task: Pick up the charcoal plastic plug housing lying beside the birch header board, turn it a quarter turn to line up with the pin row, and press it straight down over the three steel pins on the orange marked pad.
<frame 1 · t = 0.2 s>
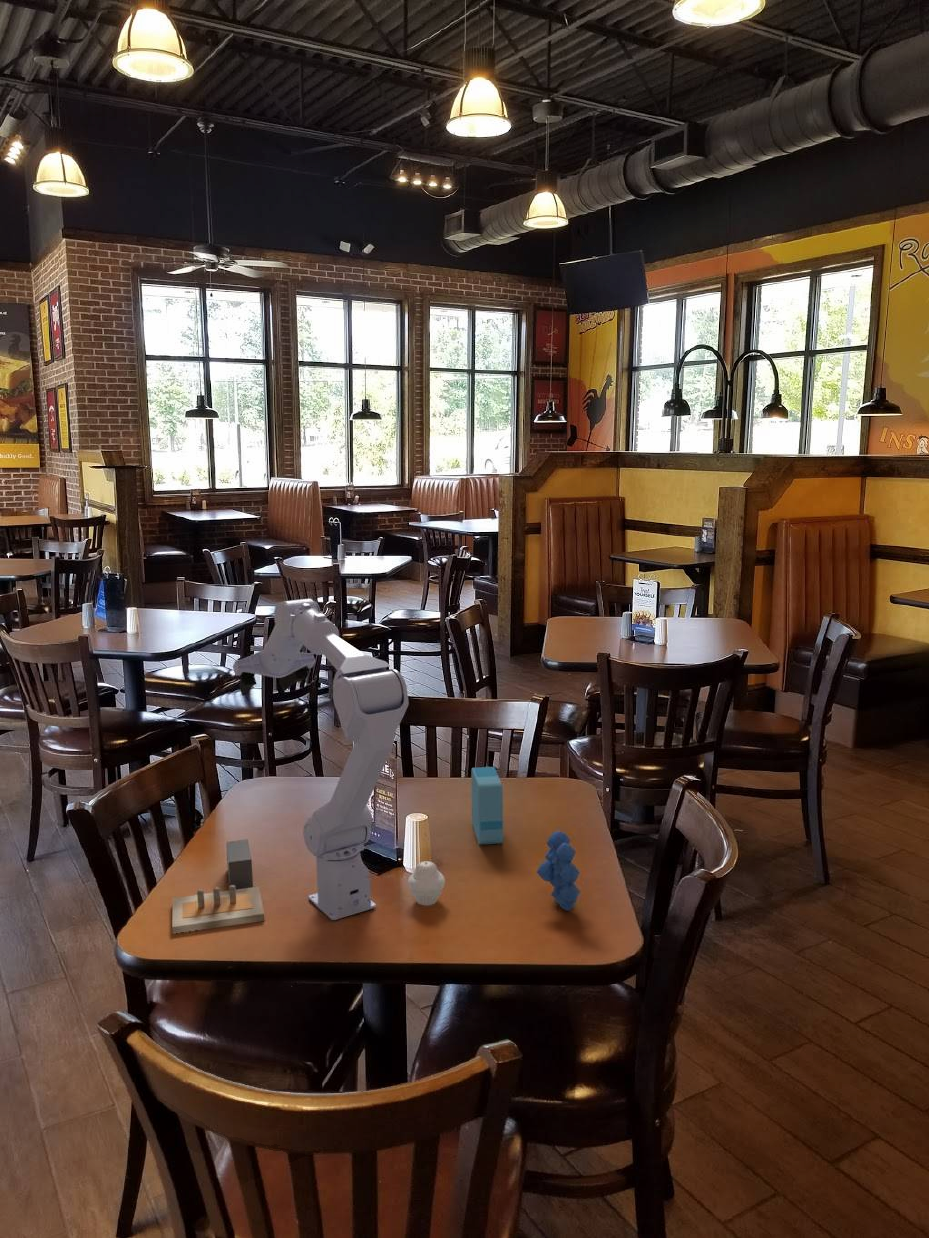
hand: (262, 688, 174), 31 cm above the table, tool tilted 45°, fingers open, 7 cm apart
plug housing: (240, 878, 167), on the table
grapes: (556, 904, 156), on the table
header board: (217, 912, 154), on the table
muffin: (426, 902, 157), on the table
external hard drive: (345, 826, 191), on the table
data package: (486, 835, 184), on the table
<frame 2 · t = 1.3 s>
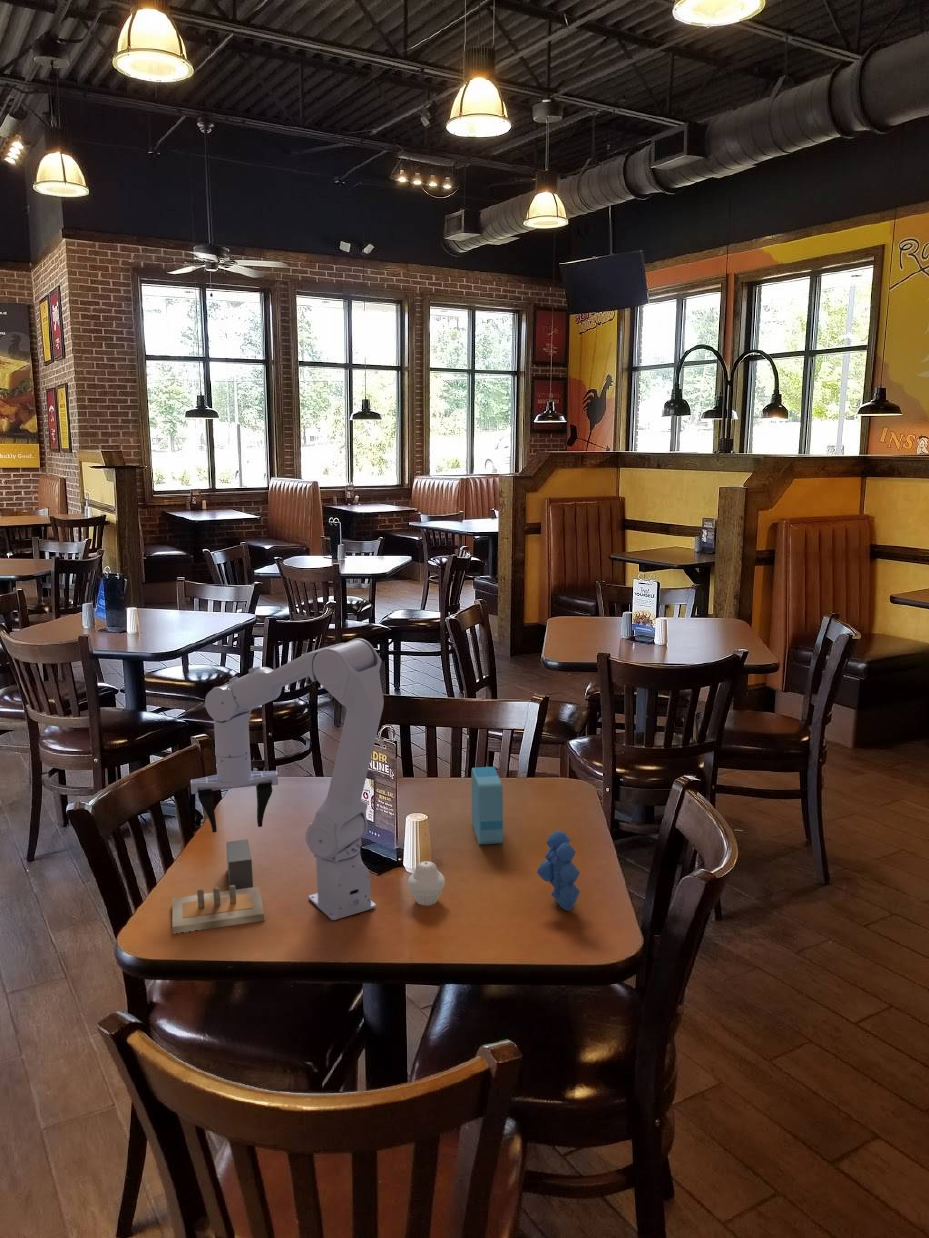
hand: (237, 827, 165), 9 cm above the table, tool pointing down, fingers open, 7 cm apart
nothing on the table moved.
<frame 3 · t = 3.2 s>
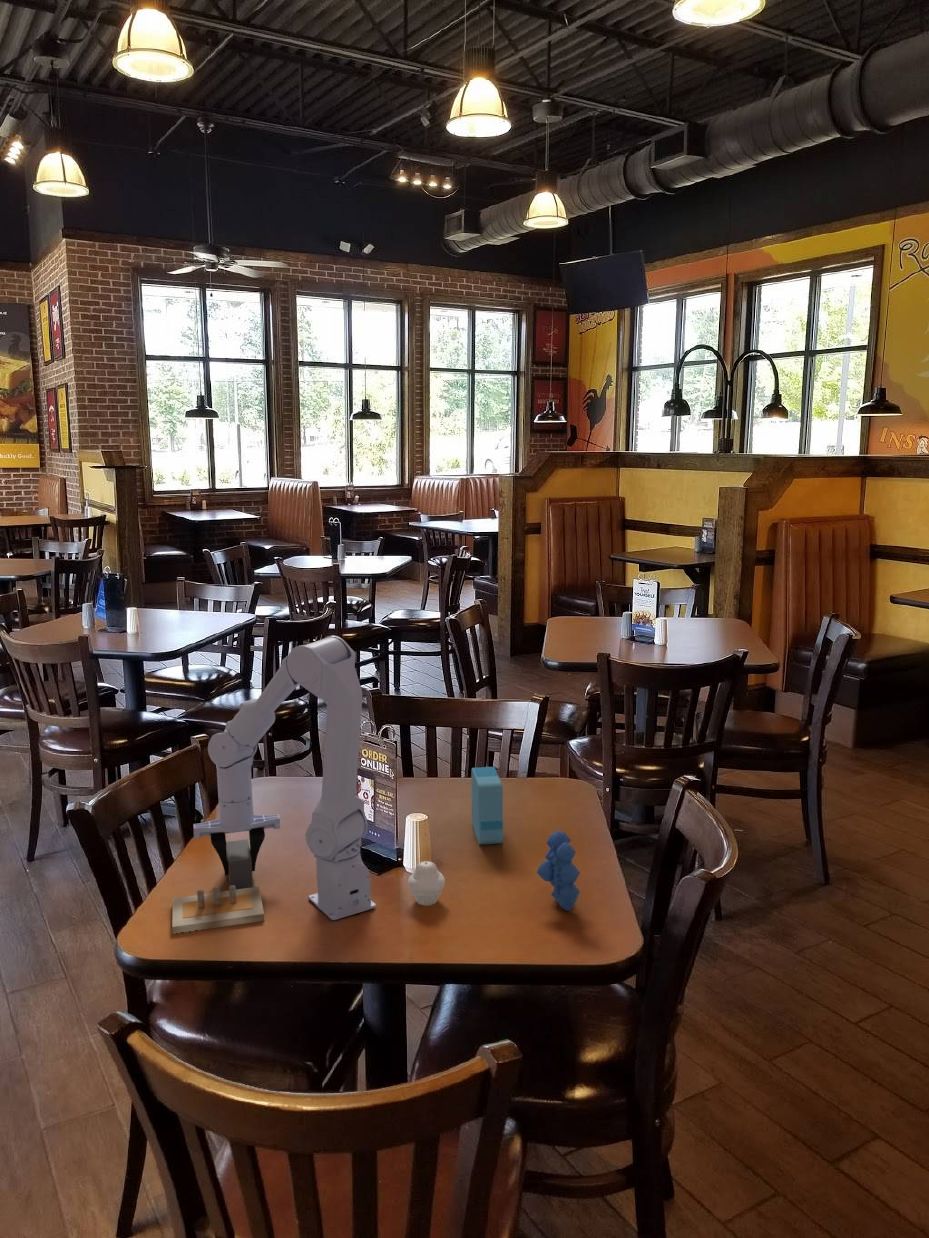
hand: (239, 870, 166), 1 cm above the table, tool pointing down, fingers closed on plug housing, 4 cm apart
plug housing: (240, 878, 167), on the table, touching gripper
everything else where it was.
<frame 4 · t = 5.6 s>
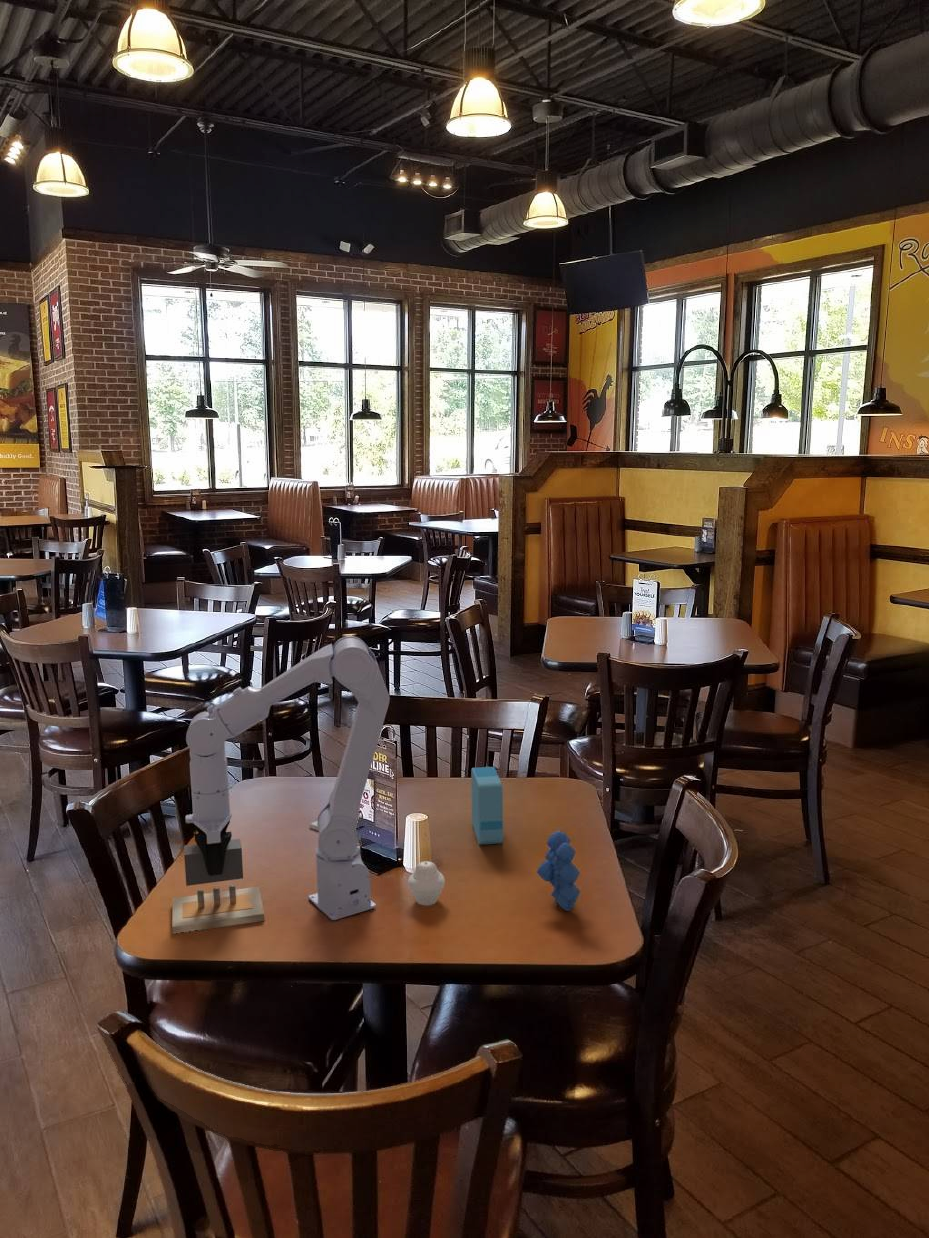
hand: (214, 868, 153), 8 cm above the table, tool pointing down, fingers closed on plug housing, 4 cm apart
plug housing: (214, 877, 153), point 6 cm above the table, touching gripper
everything else where it was.
when the fingers open (3 cm above the table, at t = 8.0 s): plug housing stays where it is, resting on header board.
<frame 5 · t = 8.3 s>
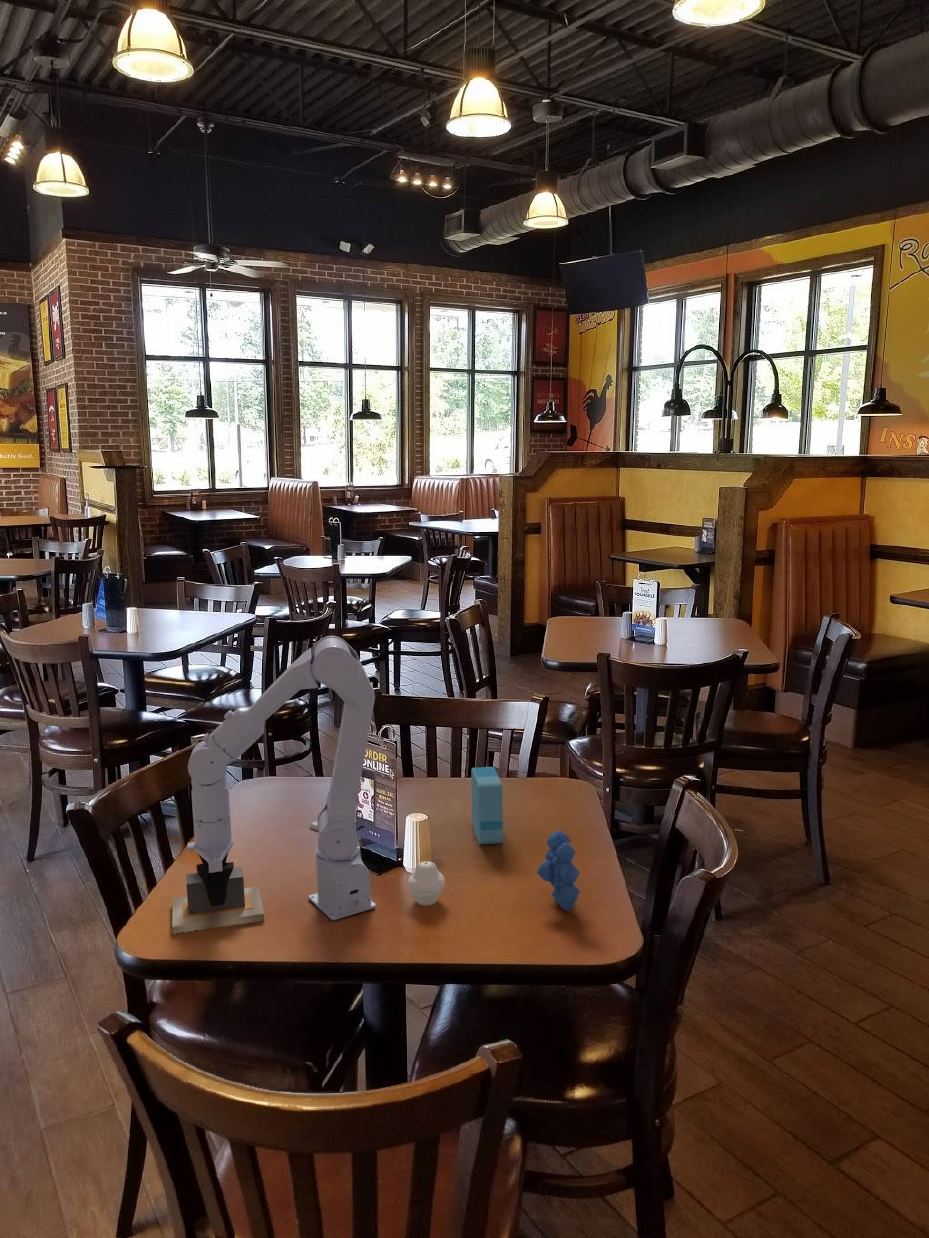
hand: (216, 895, 154), 3 cm above the table, tool pointing down, fingers open, 6 cm apart
plug housing: (216, 905, 154), point 1 cm above the table, touching header board
everything else where it was.
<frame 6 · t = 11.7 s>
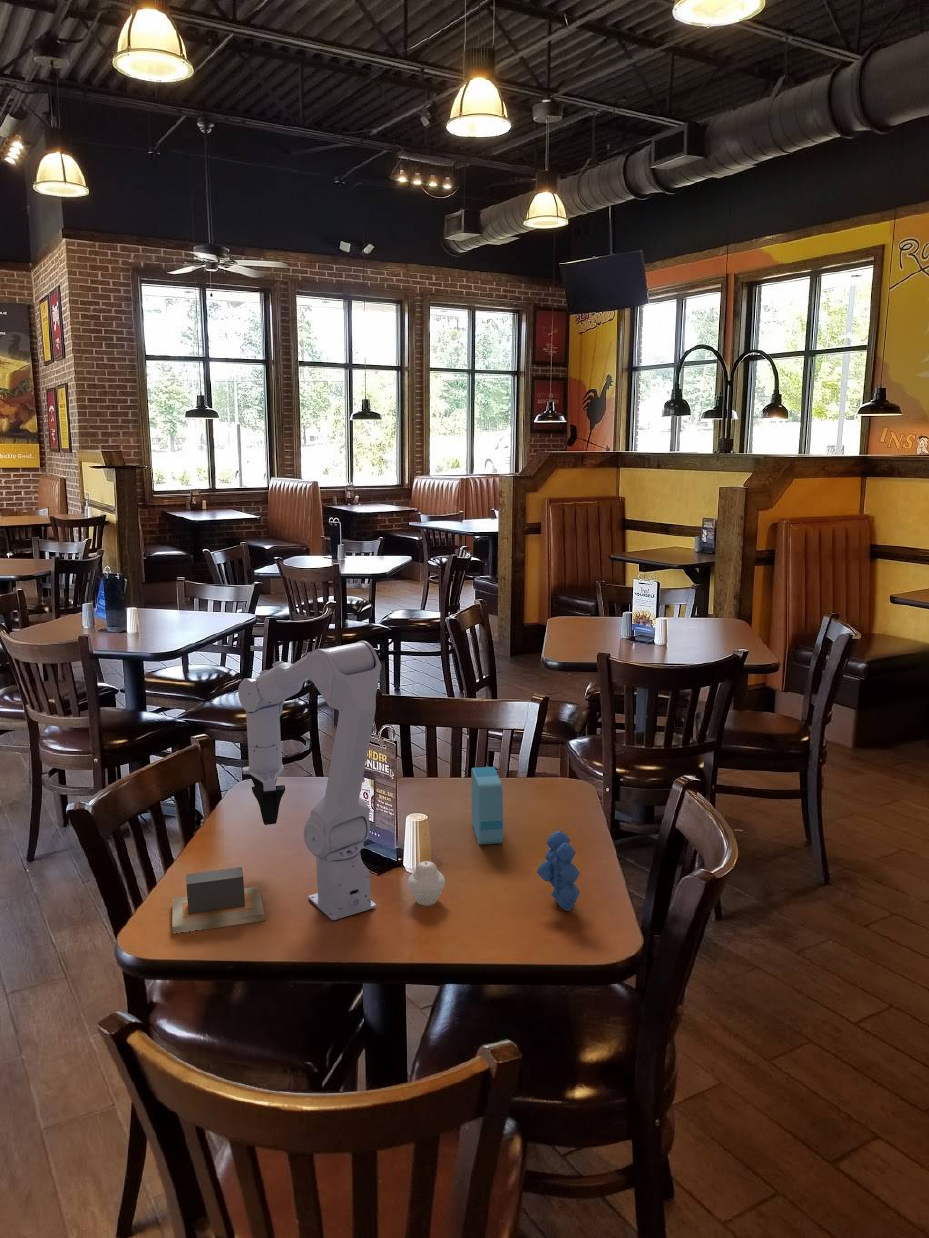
hand: (268, 815, 170), 9 cm above the table, tool pointing down, fingers open, 7 cm apart
nothing on the table moved.
at the end: plug housing 0.1 cm off-centre on the header board, point 1.3 cm above the header board's base; plug housing tilted 0°; the gripper is holding nothing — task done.
